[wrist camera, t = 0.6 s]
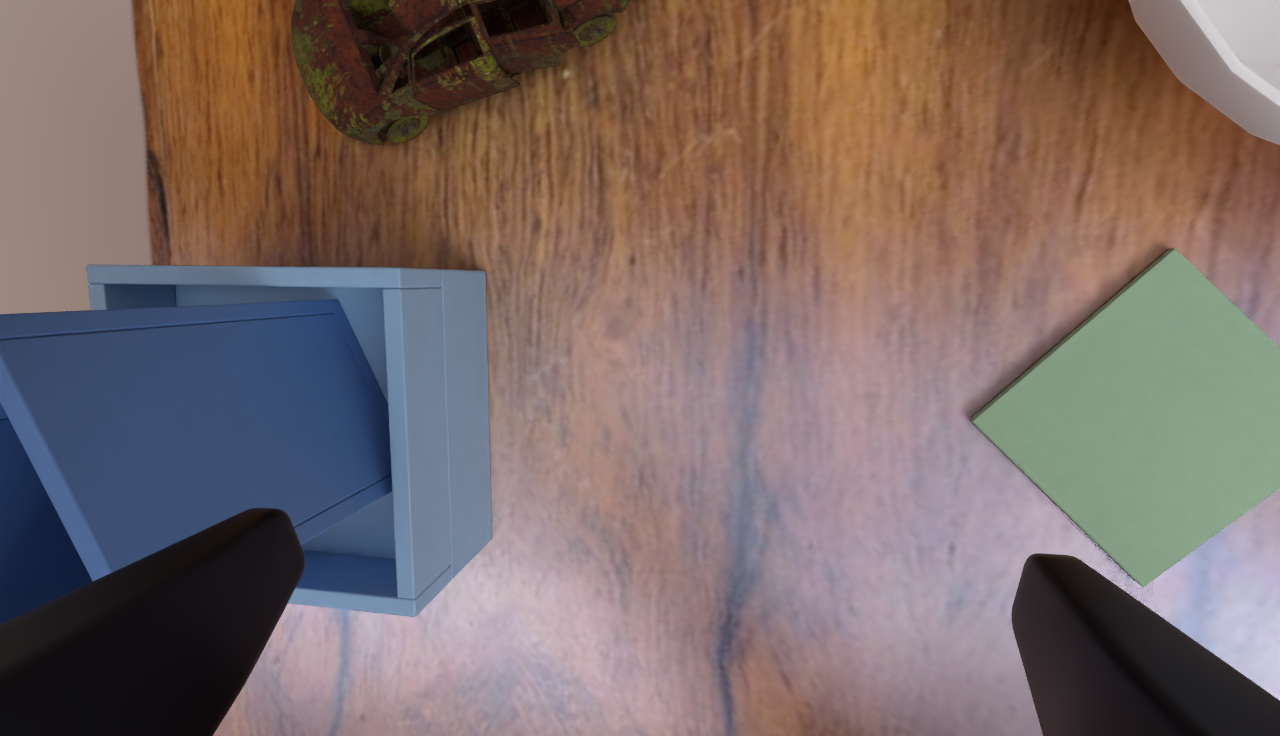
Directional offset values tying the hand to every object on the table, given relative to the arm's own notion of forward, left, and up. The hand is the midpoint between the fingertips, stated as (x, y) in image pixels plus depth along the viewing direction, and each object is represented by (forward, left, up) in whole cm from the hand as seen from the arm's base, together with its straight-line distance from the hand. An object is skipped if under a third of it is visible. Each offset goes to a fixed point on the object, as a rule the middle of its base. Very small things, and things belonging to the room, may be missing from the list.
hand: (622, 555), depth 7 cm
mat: (+9, -12, -15) cm, 21 cm away
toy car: (+3, +15, -16) cm, 22 cm away
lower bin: (-11, +9, -15) cm, 21 cm away
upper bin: (-11, +9, -12) cm, 18 cm away
